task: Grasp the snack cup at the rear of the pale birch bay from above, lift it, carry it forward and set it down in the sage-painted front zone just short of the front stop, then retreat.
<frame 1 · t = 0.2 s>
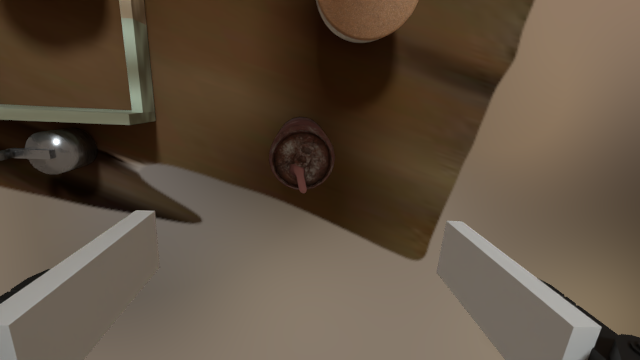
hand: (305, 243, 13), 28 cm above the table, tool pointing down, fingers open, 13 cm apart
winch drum: (76, 147, 38), on the table
can: (301, 140, 40), on the table
lidded jar: (354, 4, 36), on the table
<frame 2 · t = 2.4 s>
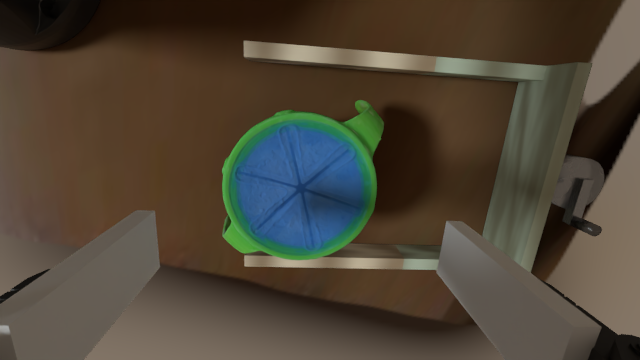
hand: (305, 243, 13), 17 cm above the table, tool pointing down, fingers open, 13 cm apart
bay: (378, 164, 30), on the table
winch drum: (541, 172, 32), on the table
snack cup: (300, 160, 30), on the table
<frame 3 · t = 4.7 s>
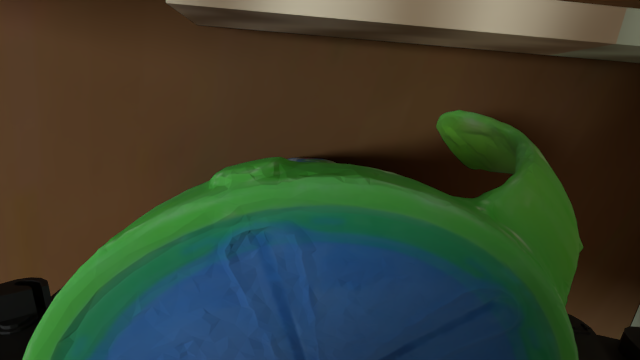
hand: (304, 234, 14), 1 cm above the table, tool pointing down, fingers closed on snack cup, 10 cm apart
bay: (452, 229, 16), on the table
snack cup: (305, 223, 15), on the table, touching gripper
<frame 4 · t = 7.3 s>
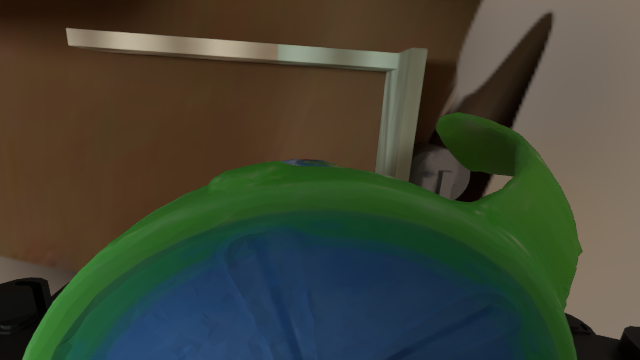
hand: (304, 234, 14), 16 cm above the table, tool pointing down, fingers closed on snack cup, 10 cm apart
bay: (247, 159, 29), on the table
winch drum: (423, 166, 31), on the table
snack cup: (305, 225, 15), point 15 cm above the table, touching gripper
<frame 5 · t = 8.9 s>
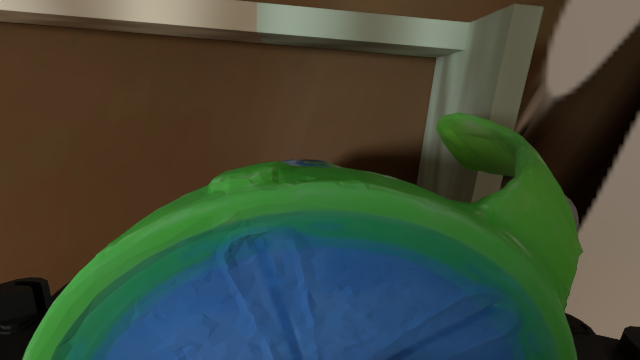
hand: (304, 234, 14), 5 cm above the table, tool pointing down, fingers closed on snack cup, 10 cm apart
bay: (213, 194, 18), on the table
snack cup: (305, 225, 15), point 4 cm above the table, touching gripper
when the fingers open (3 cm above the table, at t = 10.3 s): snack cup drops 2 cm, on the table.
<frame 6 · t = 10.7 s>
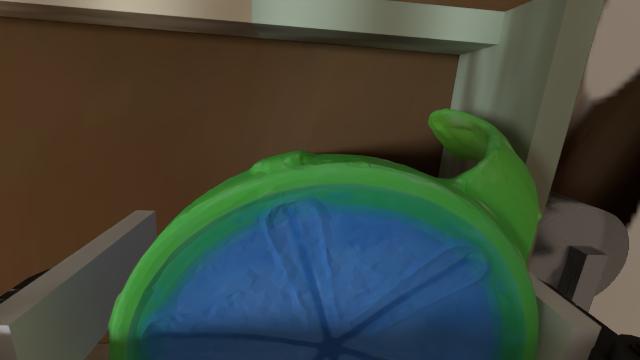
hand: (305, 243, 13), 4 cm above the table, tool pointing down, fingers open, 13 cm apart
bay: (204, 210, 16), on the table
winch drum: (510, 221, 18), on the table
snack cup: (314, 214, 17), on the table
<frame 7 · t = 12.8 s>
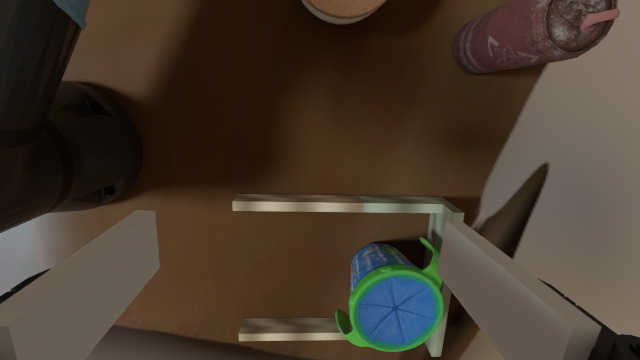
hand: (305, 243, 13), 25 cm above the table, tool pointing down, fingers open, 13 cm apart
bay: (333, 263, 42), on the table
snack cup: (376, 263, 42), on the table
can: (476, 47, 35), on the table
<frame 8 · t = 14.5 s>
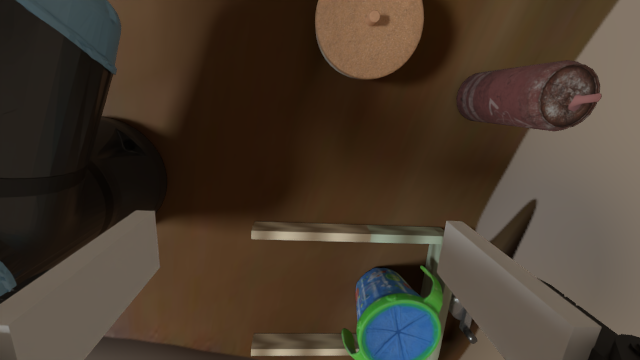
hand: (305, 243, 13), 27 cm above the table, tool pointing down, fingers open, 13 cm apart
bay: (340, 285, 45), on the table
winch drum: (452, 287, 47), on the table
snack cup: (378, 285, 46), on the table
can: (477, 97, 39), on the table
lidded jar: (355, 37, 36), on the table
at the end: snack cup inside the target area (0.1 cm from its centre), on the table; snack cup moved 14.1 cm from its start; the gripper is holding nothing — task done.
